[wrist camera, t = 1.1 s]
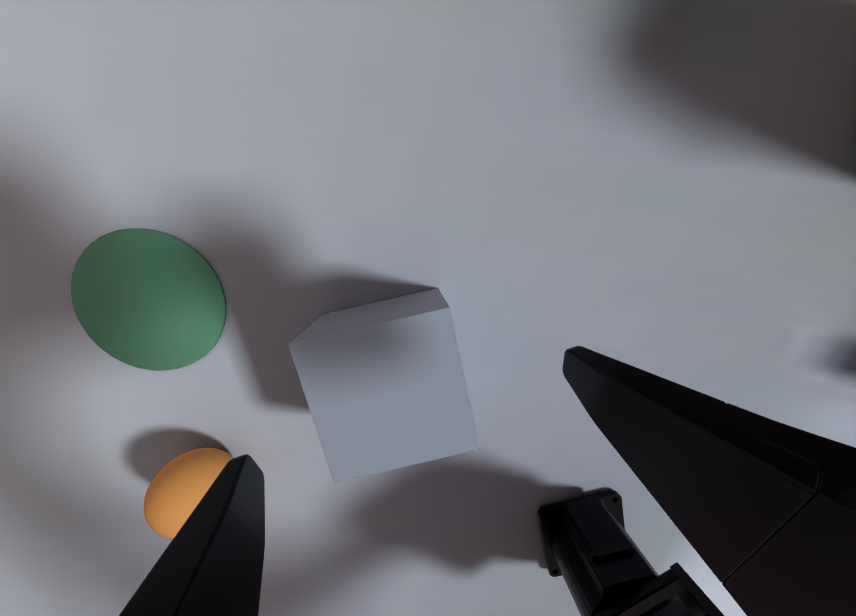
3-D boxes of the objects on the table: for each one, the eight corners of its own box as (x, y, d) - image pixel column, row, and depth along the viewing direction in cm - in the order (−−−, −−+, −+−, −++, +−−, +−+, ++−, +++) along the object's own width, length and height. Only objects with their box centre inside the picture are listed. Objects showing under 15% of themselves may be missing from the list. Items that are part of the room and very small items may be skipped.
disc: (245, 352, 21) (244, 353, 21) (112, 382, 21) (109, 384, 21) (195, 214, 19) (193, 214, 19) (48, 247, 19) (44, 247, 19)
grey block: (460, 392, 23) (479, 449, 16) (354, 417, 23) (333, 483, 16) (437, 287, 21) (449, 307, 15) (323, 313, 21) (287, 344, 15)
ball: (265, 485, 23) (226, 549, 18) (197, 500, 23) (141, 569, 18) (242, 424, 22) (194, 477, 17) (171, 441, 22) (103, 498, 17)
